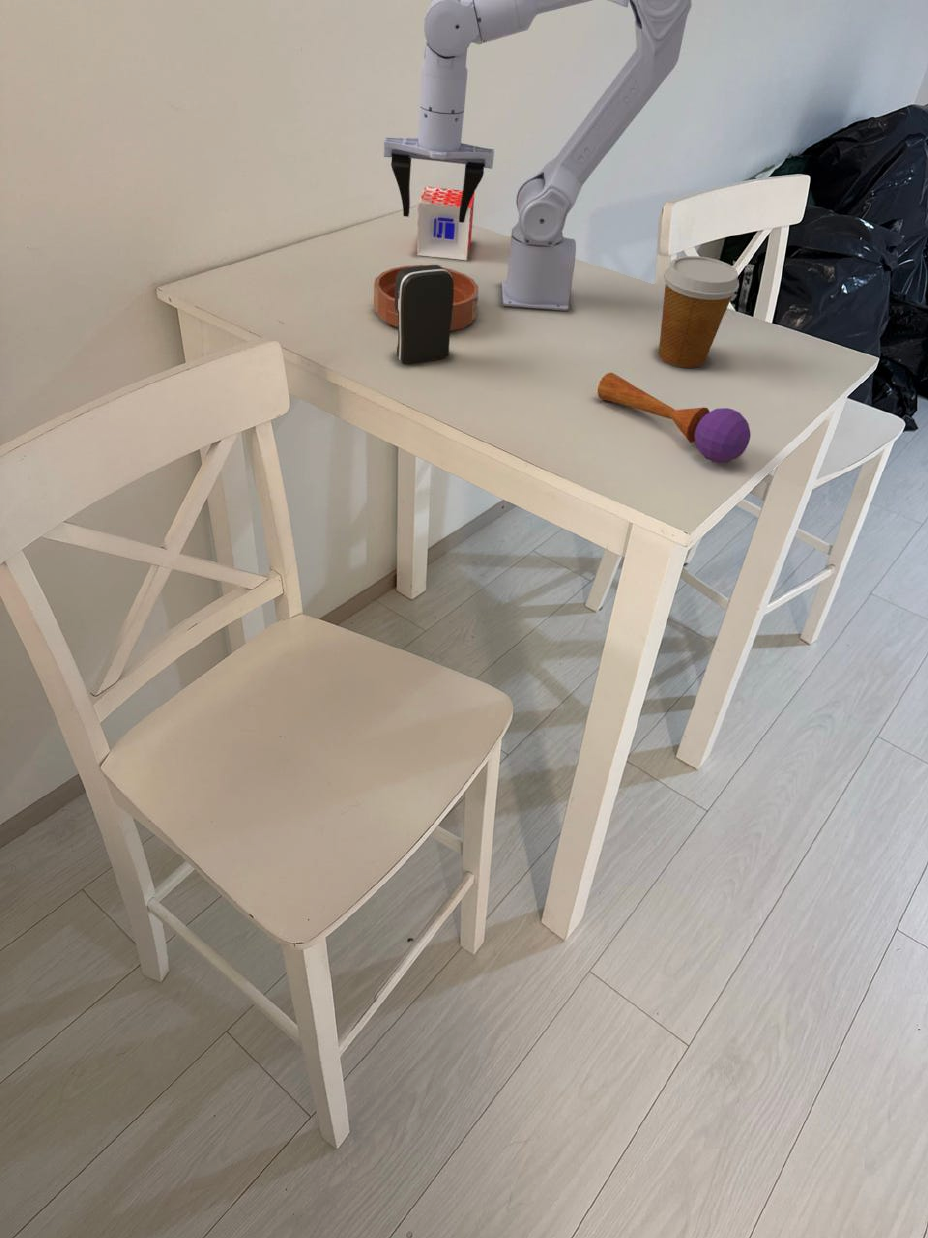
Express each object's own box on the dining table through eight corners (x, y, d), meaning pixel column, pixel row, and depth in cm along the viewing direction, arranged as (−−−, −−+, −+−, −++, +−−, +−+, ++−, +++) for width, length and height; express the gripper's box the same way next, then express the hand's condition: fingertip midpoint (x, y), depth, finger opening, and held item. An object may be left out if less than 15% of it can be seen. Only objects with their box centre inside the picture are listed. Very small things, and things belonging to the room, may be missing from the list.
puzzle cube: (470, 242, 148) (474, 191, 143) (466, 260, 143) (470, 207, 137) (422, 237, 149) (424, 186, 143) (416, 254, 143) (418, 202, 137)
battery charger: (439, 345, 120) (444, 258, 112) (451, 358, 117) (456, 270, 110) (389, 352, 117) (391, 264, 110) (400, 366, 115) (403, 276, 107)
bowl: (475, 296, 133) (478, 269, 130) (475, 339, 122) (478, 310, 119) (378, 289, 132) (378, 261, 129) (370, 331, 121) (370, 302, 119)
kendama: (627, 359, 112) (767, 416, 100) (615, 406, 115) (750, 466, 103) (597, 363, 108) (739, 422, 97) (585, 411, 111) (722, 474, 100)
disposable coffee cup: (673, 335, 127) (694, 249, 119) (730, 361, 123) (756, 272, 115) (632, 353, 122) (651, 264, 114) (690, 381, 118) (714, 290, 109)
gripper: (383, 109, 113) (379, 221, 123) (498, 122, 114) (486, 232, 123) (387, 95, 119) (383, 203, 128) (497, 108, 120) (485, 214, 129)
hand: (434, 216), depth 126 cm, fingers open, 7 cm apart
